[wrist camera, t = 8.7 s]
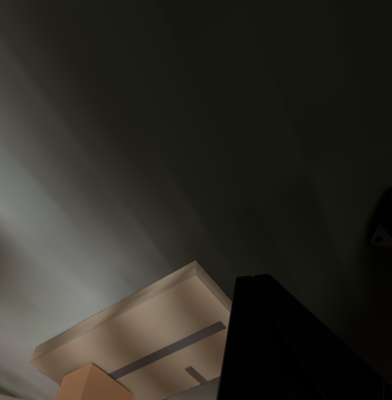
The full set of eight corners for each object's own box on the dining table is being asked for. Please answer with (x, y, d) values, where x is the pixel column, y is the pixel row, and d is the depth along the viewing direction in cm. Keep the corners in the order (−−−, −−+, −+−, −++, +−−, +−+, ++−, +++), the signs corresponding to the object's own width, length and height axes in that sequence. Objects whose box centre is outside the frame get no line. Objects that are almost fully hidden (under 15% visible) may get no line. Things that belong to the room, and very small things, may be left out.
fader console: (195, 260, 24) (195, 275, 22) (264, 339, 28) (268, 356, 27) (36, 347, 28) (28, 364, 27) (116, 404, 32) (112, 422, 31)
